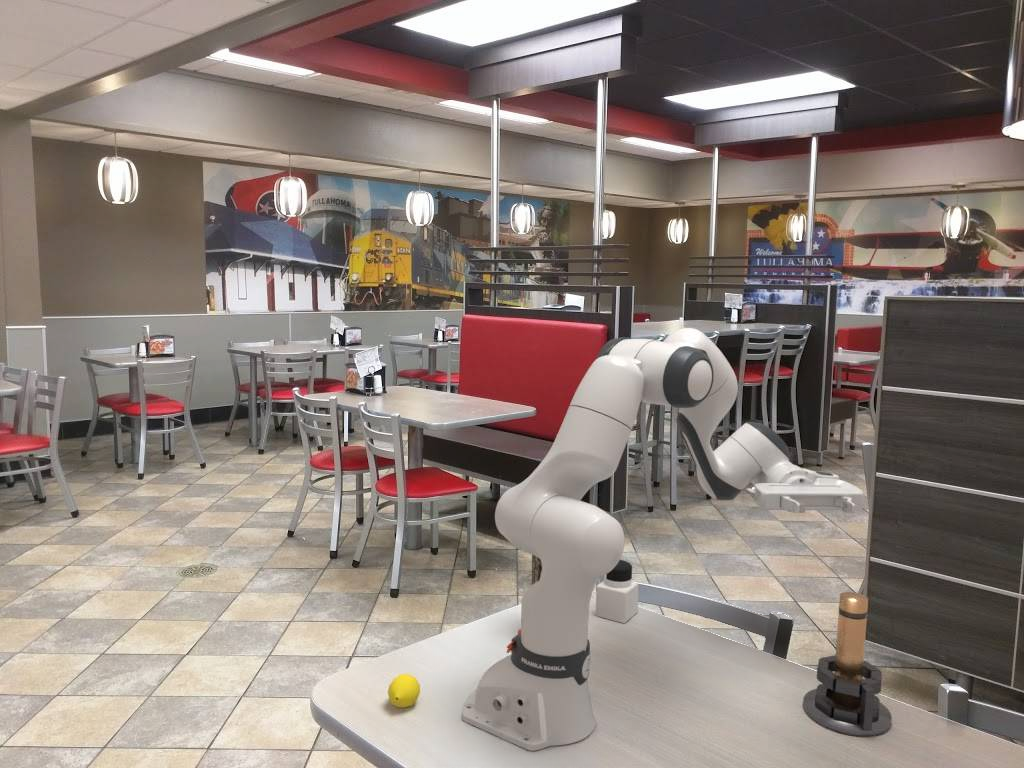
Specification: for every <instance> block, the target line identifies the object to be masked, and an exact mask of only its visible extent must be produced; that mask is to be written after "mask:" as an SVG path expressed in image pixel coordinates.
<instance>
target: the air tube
mask: <svg viewBox="0 0 1024 768" xmlns="http://www.w3.org/2000/svg"><path fill="white" fill-rule="evenodd" d="M838 602H839V603H838V614H837V615H838V617H837V619H838V620H837V633H836V643H835V644H836V645H835V646H836V647H835V655H836V657H835V671H834V672H833V673H835V674H836V675H838V676H839V677H843V678H848V679H853V680H857V681H858V680H863V676H862V675H863V662H864V661H865V648H866V647H865V646H866V636H867V635H866V634H867V633H866V632H867V620H868V608H869V607H868V606H869V597H867V596H866V595H864V594H862V593H858V592H854V591H843V592H841V593H840V594H839V601H838ZM832 701H833V702H834V703H836V704H837V705H842V706H846V707H850V708H855V709H856V708H860V701H861V696H860V695H859V697H857V696H853V695H848V694H844V693H839V692H835V690H833V700H832Z"/></svg>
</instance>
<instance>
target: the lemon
mask: <svg viewBox="0 0 1024 768" xmlns="http://www.w3.org/2000/svg"><path fill="white" fill-rule="evenodd" d="M420 693H421V684H420V683H419V681H418V679H417V678H416V676H413V675H411V674H409V673H401V674H399V675H398V676H396V677H395V678H393V680H392V681H391V682H390V684H389V686H388V689H387V694H388V698H389V701H390V702H391V704H392V705H393V706H395V707H398V708H403V709H404V708H408V707H411V706H412V705H414V704H415V703H416V702H417V701H418V698H419V696H420Z"/></svg>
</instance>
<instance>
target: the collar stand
mask: <svg viewBox="0 0 1024 768" xmlns="http://www.w3.org/2000/svg"><path fill="white" fill-rule="evenodd" d="M835 657H836V654H835V655H830V656H823V657H820V658H819V659H818V664H817V667H816V668H817V669H816V679H817V681H818V682H820V683H821V684H820V683H819V684H818V685H817V686H816V688H814V689H811V690H809V691H807V692H806V693H805V695H804V696H803V701H802V703H803V704H802V708H803V710H804V712H805V714H806V715H807V716H808V718H809V719H811V720H812V721H813V722H815V723H816V724H818V725H820V726H821V727H822V728H823V727H824V728H825V729H827V730H830V731H833V732H835V733H838V734H842V735H847V736H852V737H857V738H858V737H859V738H865V737H866V738H868V737H872V738H873V737H876V736H877V737H879V736H881V735H883V734H886V733H887V732H888V731H889V730H890V728H892V713H891V712H890V709H888V707H886V706H885V705H884V704H883V703H882V702H880V700H881V699H880V698H879V697H878V696H877V695H878V694H880V693H881V692H882V679H883V678H882V677H883V676H882V674H883V672H882V671H881V669H879V668H878V667H876V666H875V665H873V664H871V663H870V662H868V661H867V660H864V662H863V675H862V680H858V681H857V680H853V679H848V678H843V677H839V676H838V675H836V674H835V673H834V671H835ZM863 678H864V679H863ZM833 690H835V692H839V693H844V694H848V695H853V696H857V697H859V695H860V696H861V701H860V708H856V709H855V708H850V707H846V706H842V705H837V704H836V703H834V702H833V701H832V700H833Z"/></svg>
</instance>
